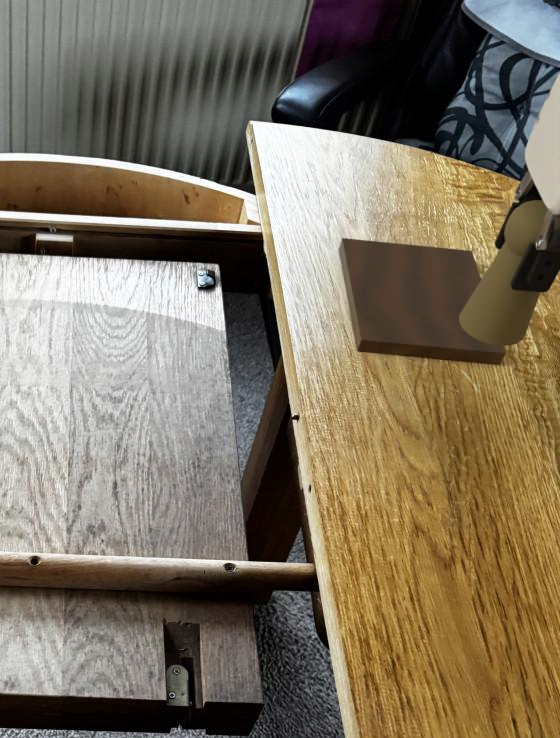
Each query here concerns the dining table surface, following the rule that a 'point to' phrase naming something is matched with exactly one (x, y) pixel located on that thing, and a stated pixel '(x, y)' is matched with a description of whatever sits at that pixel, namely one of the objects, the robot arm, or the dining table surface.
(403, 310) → the walnut board
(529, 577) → the dining table surface
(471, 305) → the tan pawn
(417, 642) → the dining table surface
